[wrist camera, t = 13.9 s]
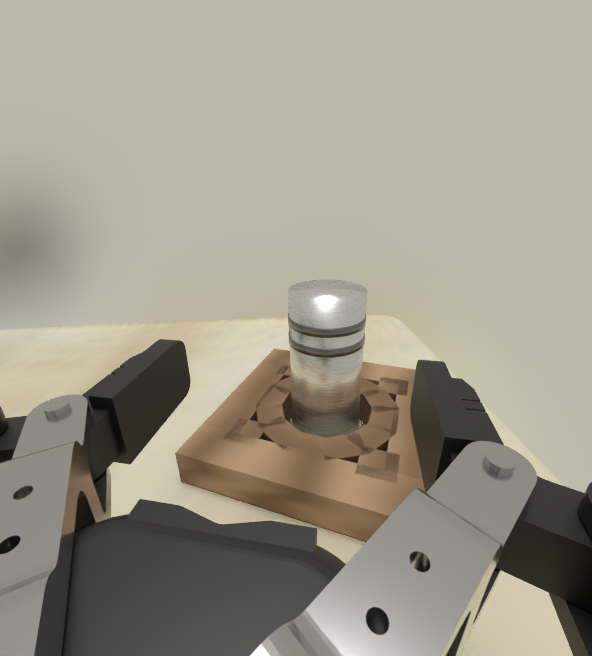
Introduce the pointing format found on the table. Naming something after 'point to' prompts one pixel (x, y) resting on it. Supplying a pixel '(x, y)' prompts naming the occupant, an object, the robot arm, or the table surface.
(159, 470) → the table surface
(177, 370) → the robot arm
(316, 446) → the ring block
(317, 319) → the salt shaker
